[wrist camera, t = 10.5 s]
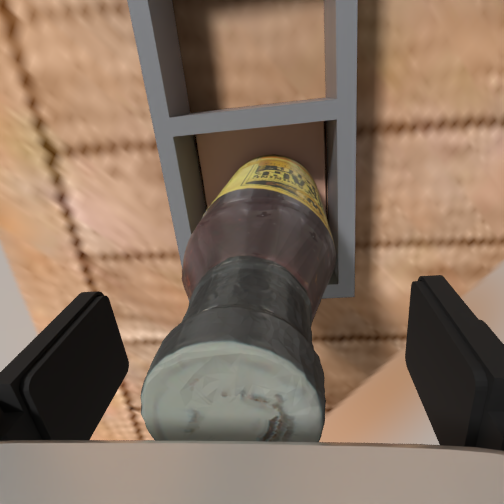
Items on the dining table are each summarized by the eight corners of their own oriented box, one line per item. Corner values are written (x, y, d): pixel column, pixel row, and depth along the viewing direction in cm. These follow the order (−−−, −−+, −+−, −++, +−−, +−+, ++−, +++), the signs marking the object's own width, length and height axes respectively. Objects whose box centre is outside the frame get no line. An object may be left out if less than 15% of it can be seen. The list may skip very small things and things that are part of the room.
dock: (340, -134, 19) (359, -206, 14) (342, 263, 28) (354, 296, 23) (138, -97, 20) (95, -153, 15) (204, 271, 29) (189, 305, 24)
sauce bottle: (334, 196, 25) (470, 453, 7) (270, 251, 28) (252, 557, 9) (270, 126, 24) (244, 235, 6) (208, 190, 26) (42, 418, 8)
